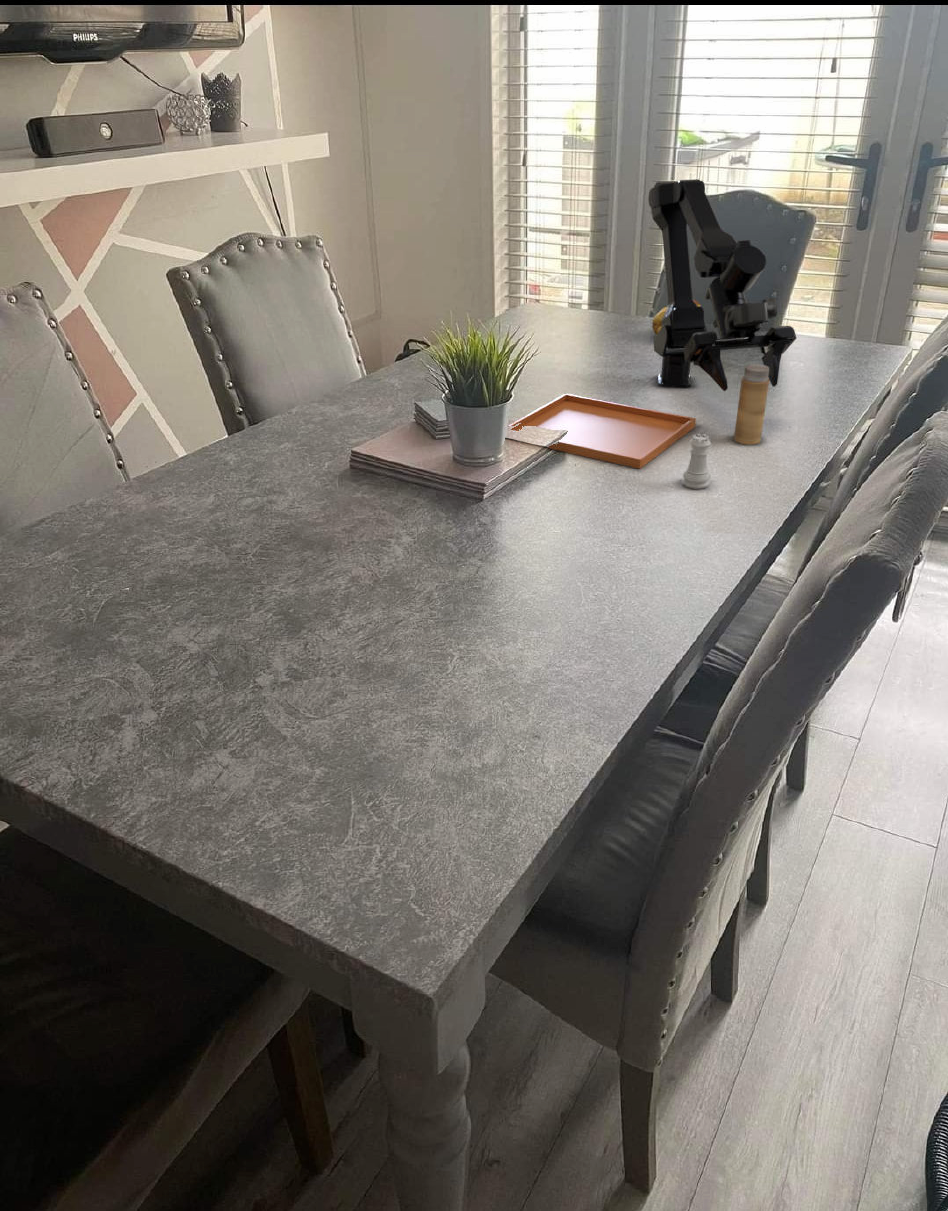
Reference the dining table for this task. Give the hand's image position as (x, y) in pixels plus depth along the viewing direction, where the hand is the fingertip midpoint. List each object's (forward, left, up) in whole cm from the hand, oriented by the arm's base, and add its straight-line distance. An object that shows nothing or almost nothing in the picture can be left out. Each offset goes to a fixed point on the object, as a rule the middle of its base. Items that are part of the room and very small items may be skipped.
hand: (750, 387), depth 166 cm
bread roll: (-64, -14, -5) cm, 65 cm away
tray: (+1, -25, -9) cm, 27 cm away
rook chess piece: (+22, -8, -9) cm, 26 cm away
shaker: (+1, +1, -9) cm, 9 cm away
